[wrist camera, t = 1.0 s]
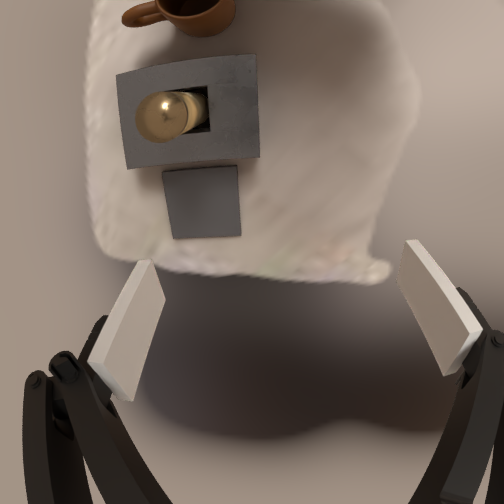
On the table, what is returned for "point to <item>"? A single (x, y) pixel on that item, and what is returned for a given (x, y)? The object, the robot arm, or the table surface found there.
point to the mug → (184, 15)
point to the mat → (203, 201)
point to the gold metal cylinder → (170, 114)
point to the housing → (220, 110)
